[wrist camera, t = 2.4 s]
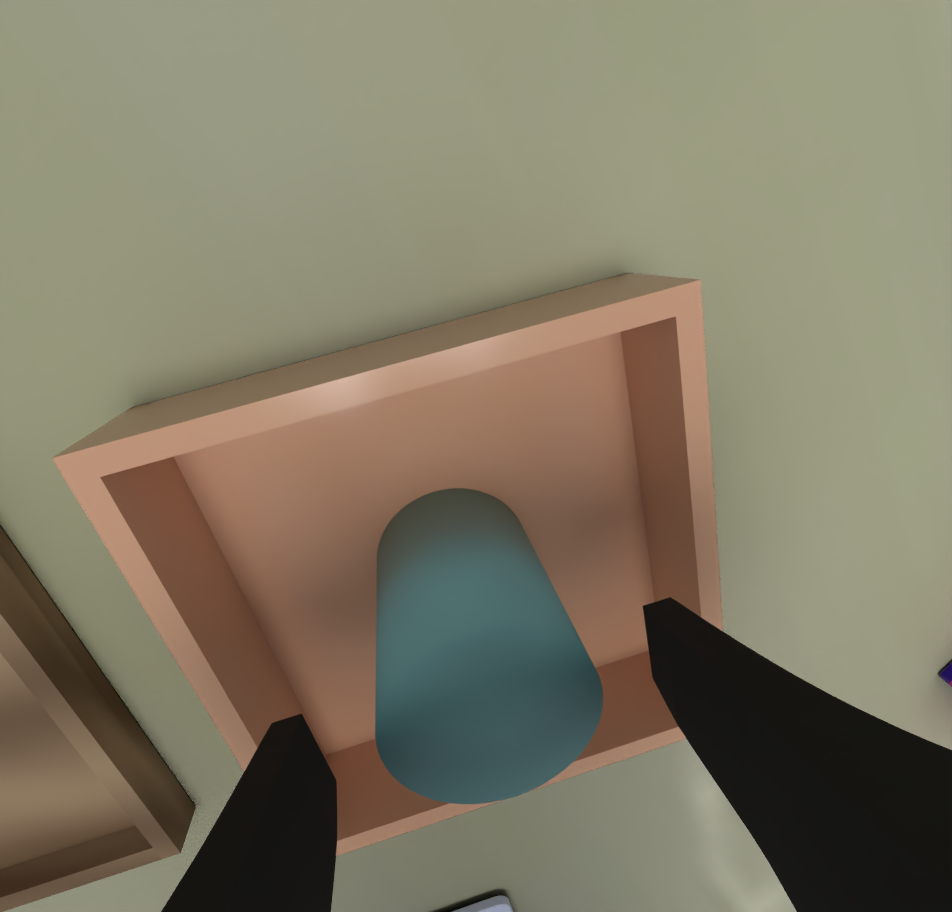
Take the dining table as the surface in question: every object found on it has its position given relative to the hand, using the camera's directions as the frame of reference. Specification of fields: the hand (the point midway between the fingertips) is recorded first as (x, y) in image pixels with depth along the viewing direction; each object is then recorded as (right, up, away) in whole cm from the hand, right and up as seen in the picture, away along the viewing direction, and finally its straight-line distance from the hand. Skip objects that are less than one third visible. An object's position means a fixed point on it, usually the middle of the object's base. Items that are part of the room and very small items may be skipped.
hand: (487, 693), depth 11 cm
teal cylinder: (-1, +2, +5) cm, 5 cm away
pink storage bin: (-1, +2, +5) cm, 6 cm away
